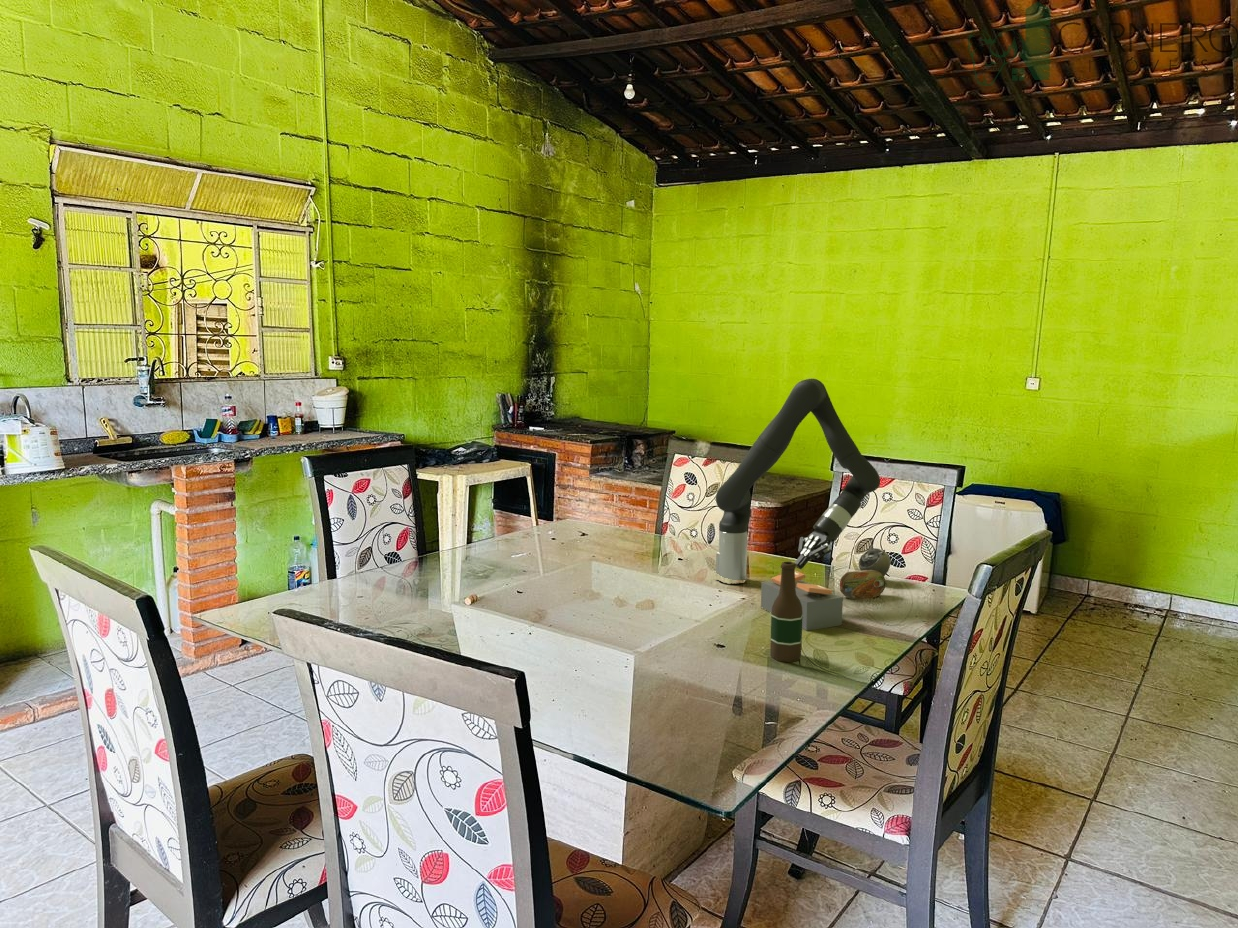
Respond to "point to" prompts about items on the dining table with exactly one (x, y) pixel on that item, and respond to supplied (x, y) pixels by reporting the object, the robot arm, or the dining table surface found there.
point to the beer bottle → (786, 619)
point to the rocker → (797, 577)
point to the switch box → (808, 605)
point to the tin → (862, 584)
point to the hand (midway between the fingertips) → (797, 567)
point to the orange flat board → (814, 588)
